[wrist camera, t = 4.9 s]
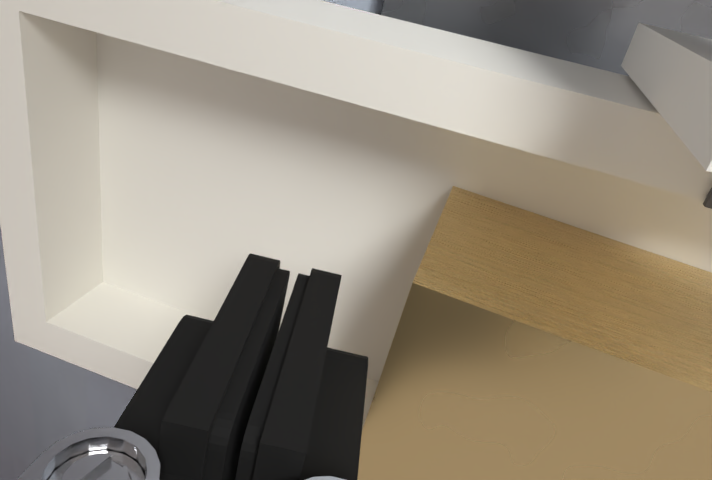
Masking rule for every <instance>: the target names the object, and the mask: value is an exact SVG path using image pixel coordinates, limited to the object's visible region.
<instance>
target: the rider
mask: <svg viewBox="0 0 712 480" xmlns="http://www.w3.org/2000/svg"><path fill="white" fill-rule="evenodd" d="M357 480H712V273H711V272H708V271H705V270H702V269H699V268H696V267H694V266H691V265H688V264H685V263H682V262H679V261H676V260H673V259H670V258H667V257H664V256H661V255H658V254H655V253H652V252H649V251H646V250H643V249H640V248H637V247H634V246H631V245H628V244H625V243H622V242H619V241H616V240H613V239H610V238H607V237H604V236H601V235H598V234H595V233H592V232H589V231H586V230H583V229H580V228H577V227H574V226H571V225H568V224H565V223H562V222H559V221H557V220H554V219H551V218H548V217H545V216H542V215H539V214H536V213H533V212H530V211H527V210H524V209H521V208H518V207H515V206H512V205H509V204H506V203H503V202H500V201H497V200H494V199H491V198H488V197H485V196H482V195H479V194H476V193H473V192H470V191H467V190H464V189H461V188H458V187H455V186H453V187H452V190H451V192H450V195H449V197H448V199H447V202H446V204H445V206H444V209H443V211H442V214H441V216H440V218H439V221H438V223H437V225H436V228H435V230H434V233H433V235H432V237H431V240H430V242H429V245H428V247H427V249H426V252H425V254H424V256H423V259H422V261H421V264H420V266H419V268H418V271H417V273H416V275H415V278H414V280H413V283H412V286H411V288H410V291H409V294H408V297H407V300H406V303H405V306H404V309H403V312H402V315H401V318H400V321H399V324H398V327H397V330H396V332H395V335H394V338H393V341H392V344H391V347H390V350H389V353H388V356H387V359H386V362H385V365H384V368H383V371H382V374H381V376H380V379H379V382H378V385H377V388H376V391H375V394H374V397H373V400H372V403H371V406H370V409H369V412H368V415H367V418H366V420H365V423H364V426H363V429H362V436H361V446H360V457H359V468H358V478H357Z"/></svg>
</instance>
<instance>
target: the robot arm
mask: <svg viewBox="0 0 712 480" xmlns="http://www.w3.org/2000/svg"><path fill="white" fill-rule="evenodd" d="M289 276H290V271H288V270H283V269H280V260H276V259H272V258H268V257H264V256H259V255H255V254H251V253H250V254H249V255H248V257H247V259H246V261H245V263H244V264H243V266H242V268H241V270H240V272H239V274H238V276H237V278H236V280H235V282H234V283H233V285H232V287H231V289H230V291H229V293H228V295H227V297H226V299H225V301H224V302H223V304H222V306H221V308H220V310H219V312H218V314H217V316H216V318H215V320H214V321H212V320H208V319H203V318H199V317H195V316H191V315H185V316H183V318H182V319H181V320H180V321H179V323H178V325H177V326H176V328H175V329H174V331H173V333H172V334H171V336H170V338H169V339H168V341H167V342H166V344H165V346H164V347H163V349H162V351H161V352H160V354H159V355H158V357H157V359H156V360H155V362H154V363H153V365H152V367H151V368H150V370H149V372H148V373H147V375H146V376H145V378H144V380H143V381H142V383H141V384H140V386H139V388H138V389H137V391H136V393H135V394H134V396H133V397H132V399H131V401H130V402H129V404H128V406H127V407H126V409H125V410H124V412H123V414H122V415H121V417H120V418H119V420H118V422H117V423H116V425H115V427H105V428H91V429H87V430H83V431H79V432H75V433H73V434H71V435H69V436H67V437H65V438H63V439H61V440H58V441H56V442H55V443H54V444H53V445H51V446H50V447H49V448H48V449H46V450H45V451H44V452H43V453H41V454H40V455H39V456H38V457H37V458H36V460H35V461H34V462H33V463H32V464H31V465H30V466H29V467H28V468H27V469H26V470H25V471H24V472H23V473H22V474H21V475H20V476H19V477H18V478H17V479H16V480H357V478H358V468H359V457H360V446H361V436H362V425H363V414H364V403H365V393H366V382H367V371H368V357H367V356H362V355H358V354H354V353H349V352H345V351H341V350H337V349H332V348H328V347H327V346H328V341H329V336H330V331H331V326H332V321H333V316H334V311H335V306H336V301H337V296H338V291H339V287H340V282H341V276H342V275H340V274H335V273H331V272H327V271H323V270H318V269H314V268H312V270H311V273H310V276H308V275H304V274H300V273H298V276H297V279H296V281H295V284H294V287H293V290H292V293H291V296H290V299H289V302H288V305H287V308H286V311H285V314H284V317H283V320H282V323H281V326H280V322H281V317H282V312H283V307H284V302H285V297H286V291H287V286H288V281H289ZM279 327H280V329H279Z"/></svg>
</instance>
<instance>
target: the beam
mask: <svg viewBox="0 0 712 480" xmlns="http://www.w3.org/2000/svg"><path fill="white" fill-rule="evenodd" d="M621 67H622V68H623V69H624V70H625V71H626V73H627V74H628V75H629V76H626V75H622V74H618V73H614V72H610V71H606V70H602V69H598V68H594V67H590V66H586V65H581V64H577V63H573V62H569V61H565V60H561V59H557V58H553V57H549V56H545V55H541V54H537V53H533V52H529V51H525V50H521V49H517V48H513V47H508V46H504V45H500V44H496V43H492V42H488V41H484V40H480V39H476V38H472V37H468V36H464V35H460V34H456V33H452V32H448V31H444V30H440V29H436V28H431V27H427V26H423V25H419V24H415V23H411V22H407V21H403V20H399V19H395V18H391V17H387V16H383V15H379V14H375V13H371V12H367V11H363V10H358V9H354V8H350V7H346V6H342V5H338V4H334V3H330V2H326V1H322V0H0V226H1V234H2V242H3V250H4V258H5V266H6V275H7V283H8V291H9V299H10V307H11V315H12V323H13V331H14V339H15V341H16V342H19V343H21V344H24V345H26V346H29V347H31V348H34V349H37V350H39V351H42V352H44V353H47V354H49V355H52V356H54V357H57V358H59V359H62V360H64V361H67V362H69V363H72V364H74V365H77V366H79V367H82V368H85V369H87V370H90V371H92V372H95V373H97V374H100V375H102V376H105V377H107V378H110V379H112V380H115V381H117V382H120V383H122V384H125V385H128V386H130V387H133V388H135V389H138V388H139V386H140V384H141V383H142V381H143V380H144V378H145V376H146V375H147V373H148V372H149V370H150V368H151V367H152V365H153V363H154V362H155V360H156V359H157V357H158V355H159V354H160V352H161V351H162V349H163V347H164V346H165V344H166V342H167V341H168V339H169V338H170V336H171V334H172V333H173V331H174V329H175V328H176V326H177V325H178V323H179V321H180V320H181V319H182V318H183V316H185V315H191V316H195V317H199V318H203V319H208V320H212V321H214V320H215V318H216V316H217V314H218V312H219V310H220V308H221V306H222V304H223V302H224V301H225V299H226V297H227V295H228V293H229V291H230V289H231V287H232V285H233V283H234V282H235V280H236V278H237V276H238V274H239V272H240V270H241V268H242V266H243V264H244V263H245V261H246V259H247V257H248V255H249V254H250V253H251V254H255V255H259V256H264V257H268V258H272V259H276V260H280V269H283V270H288V271H290V276H289V281H288V286H287V291H286V297H285V302H284V307H283V312H282V317H281V322H280V326H281V323H282V320H283V317H284V314H285V311H286V308H287V305H288V302H289V299H290V296H291V293H292V290H293V287H294V284H295V281H296V279H297V276H298V273H300V274H304V275H308V276H310V273H311V270H312V268H314V269H318V270H323V271H327V272H331V273H335V274H340V275H342V276H341V282H340V287H339V291H338V296H337V301H336V306H335V311H334V316H333V321H332V326H331V331H330V336H329V341H328V346H327V347H328V348H332V349H337V350H341V351H345V352H349V353H354V354H358V355H362V356H367V357H368V371H367V382H366V393H365V403H364V414H363V425H362V429H363V426H364V423H365V420H366V418H367V415H368V412H369V409H370V406H371V403H372V400H373V397H374V394H375V391H376V388H377V385H378V382H379V379H380V376H381V374H382V371H383V368H384V365H385V362H386V359H387V356H388V353H389V350H390V347H391V344H392V341H393V338H394V335H395V332H396V330H397V327H398V324H399V321H400V318H401V315H402V312H403V309H404V306H405V303H406V300H407V297H408V294H409V291H410V288H411V286H412V283H413V280H414V278H415V275H416V273H417V271H418V268H419V266H420V264H421V261H422V259H423V256H424V254H425V252H426V249H427V247H428V245H429V242H430V240H431V237H432V235H433V233H434V230H435V228H436V225H437V223H438V221H439V218H440V216H441V214H442V211H443V209H444V206H445V204H446V202H447V199H448V197H449V195H450V192H451V190H452V187H453V186H455V187H458V188H461V189H464V190H467V191H470V192H473V193H476V194H479V195H482V196H485V197H488V198H491V199H494V200H497V201H500V202H503V203H506V204H509V205H512V206H515V207H518V208H521V209H524V210H527V211H530V212H533V213H536V214H539V215H542V216H545V217H548V218H551V219H554V220H557V221H559V222H562V223H565V224H568V225H571V226H574V227H577V228H580V229H583V230H586V231H589V232H592V233H595V234H598V235H601V236H604V237H607V238H610V239H613V240H616V241H619V242H622V243H625V244H628V245H631V246H634V247H637V248H640V249H643V250H646V251H649V252H652V253H655V254H658V255H661V256H664V257H667V258H670V259H673V260H676V261H679V262H682V263H685V264H688V265H691V266H694V267H696V268H699V269H702V270H705V271H708V272H711V273H712V39H708V38H704V37H700V36H695V35H691V34H687V33H682V32H678V31H674V30H669V29H665V28H660V27H656V26H652V25H647V24H643V23H638V25H637V28H636V30H635V33H634V35H633V38H632V40H631V43H630V45H629V47H628V50H627V52H626V55H625V57H624V60H623V62H622V64H621ZM279 329H280V327H279Z"/></svg>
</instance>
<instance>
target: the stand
mask: <svg viewBox="0 0 712 480" xmlns="http://www.w3.org/2000/svg"><path fill="white" fill-rule="evenodd" d="M381 15H383V16H387V17H391V18H395V19H399V20H403V21H407V22H411V23H415V24H419V25H423V26H427V27H431V28H436V29H440V30H444V31H448V32H452V33H456V34H460V35H464V36H468V37H472V38H476V39H480V40H484V41H488V42H492V43H496V44H500V45H504V46H508V47H513V48H517V49H521V50H525V51H529V52H533V53H537V54H541V55H545V56H549V57H553V58H557V59H561V60H565V61H569V62H573V63H577V64H581V65H586V66H590V67H594V68H598V69H602V70H606V71H610V72H614V73H618V74H622V75H626V76H629V75H628V74H627V73H626V71H625V70H624V69H623V68H622V67H621V64H622V62H623V60H624V57H625V55H626V52H627V50H628V47H629V45H630V43H631V40H632V38H633V35H634V33H635V30H636V28H637V25H638V23H643V24H647V25H652V26H656V27H660V28H665V29H669V30H674V31H678V32H682V33H687V34H691V35H695V36H700V37H704V38H708V39H712V0H384V3H383V8H382V13H381Z"/></svg>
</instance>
